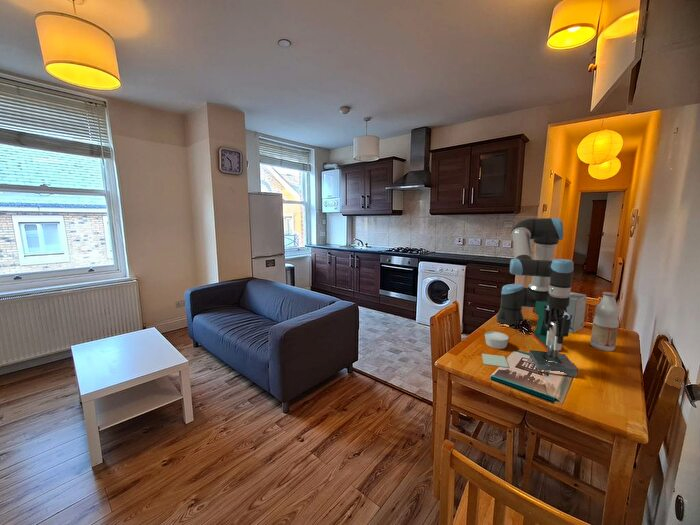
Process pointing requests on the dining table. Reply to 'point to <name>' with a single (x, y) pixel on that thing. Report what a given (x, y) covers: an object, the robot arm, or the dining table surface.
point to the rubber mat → (494, 360)
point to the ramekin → (496, 340)
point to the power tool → (540, 330)
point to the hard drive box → (576, 311)
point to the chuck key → (552, 339)
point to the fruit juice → (605, 323)
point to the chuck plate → (562, 359)
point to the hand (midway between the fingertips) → (553, 347)
